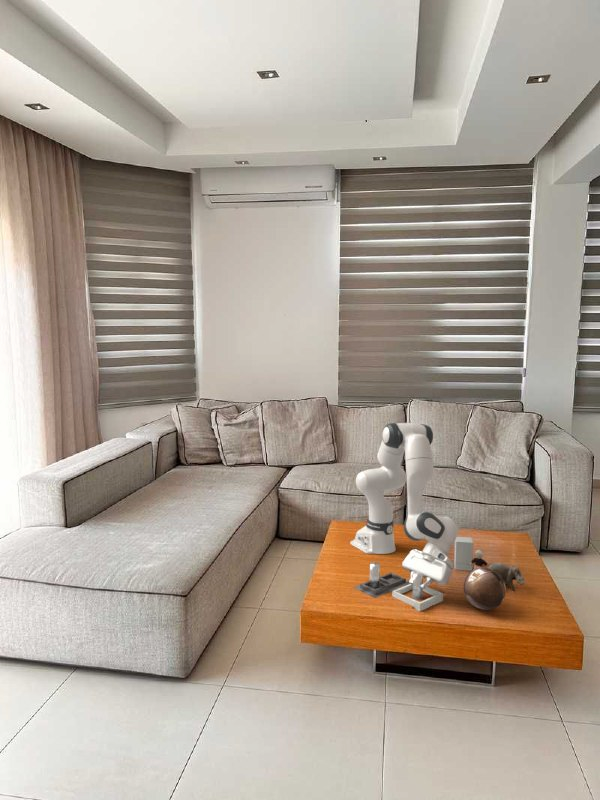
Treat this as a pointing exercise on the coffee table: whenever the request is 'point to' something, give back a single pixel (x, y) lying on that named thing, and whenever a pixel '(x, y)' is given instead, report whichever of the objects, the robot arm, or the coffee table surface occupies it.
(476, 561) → the grandmother figurine
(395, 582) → the tray
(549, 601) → the coffee table surface
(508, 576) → the rhinoceros figurine
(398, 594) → the white square frame
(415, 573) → the ball
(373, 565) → the seated billet
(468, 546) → the supplement box
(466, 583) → the brown metallic sphere
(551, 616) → the coffee table surface
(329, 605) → the coffee table surface
